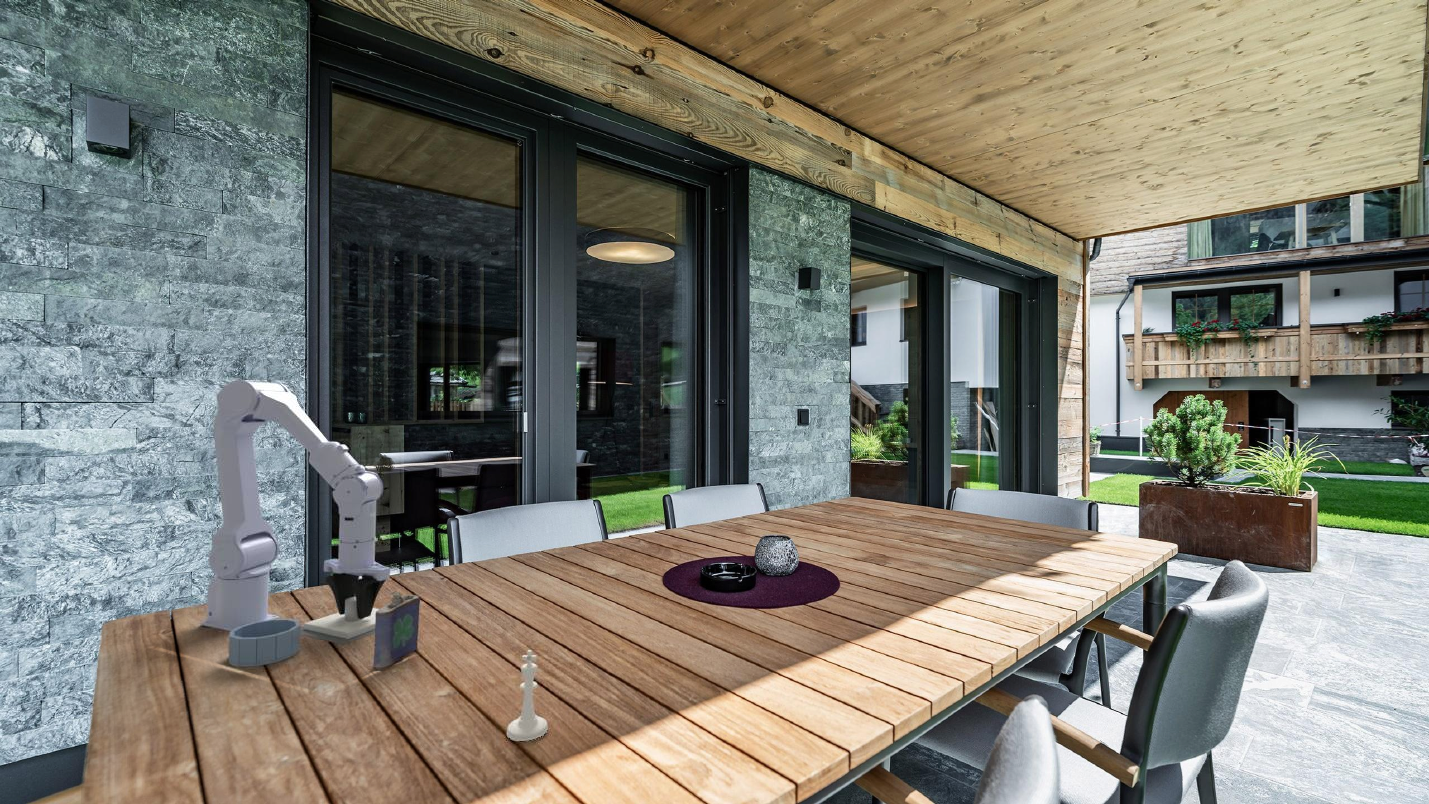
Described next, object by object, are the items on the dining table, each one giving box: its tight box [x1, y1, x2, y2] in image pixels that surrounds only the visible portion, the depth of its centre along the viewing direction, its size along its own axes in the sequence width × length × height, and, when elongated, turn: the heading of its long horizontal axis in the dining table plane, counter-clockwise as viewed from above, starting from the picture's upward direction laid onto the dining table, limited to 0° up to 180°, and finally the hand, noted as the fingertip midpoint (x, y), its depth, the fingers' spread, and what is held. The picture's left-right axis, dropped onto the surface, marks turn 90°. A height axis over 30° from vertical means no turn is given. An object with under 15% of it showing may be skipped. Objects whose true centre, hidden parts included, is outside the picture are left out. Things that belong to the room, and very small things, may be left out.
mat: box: [300, 625, 375, 646], centre depth 112 cm, size 14×15×1 cm
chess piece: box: [506, 649, 549, 742], centre depth 77 cm, size 5×5×10 cm
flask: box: [373, 590, 421, 672], centre depth 98 cm, size 9×3×11 cm, turn 172°
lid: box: [303, 596, 380, 639], centre depth 112 cm, size 11×11×4 cm
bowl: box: [228, 618, 301, 668], centre depth 97 cm, size 9×9×4 cm
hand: (354, 615), depth 112 cm, fingers open, 4 cm apart
